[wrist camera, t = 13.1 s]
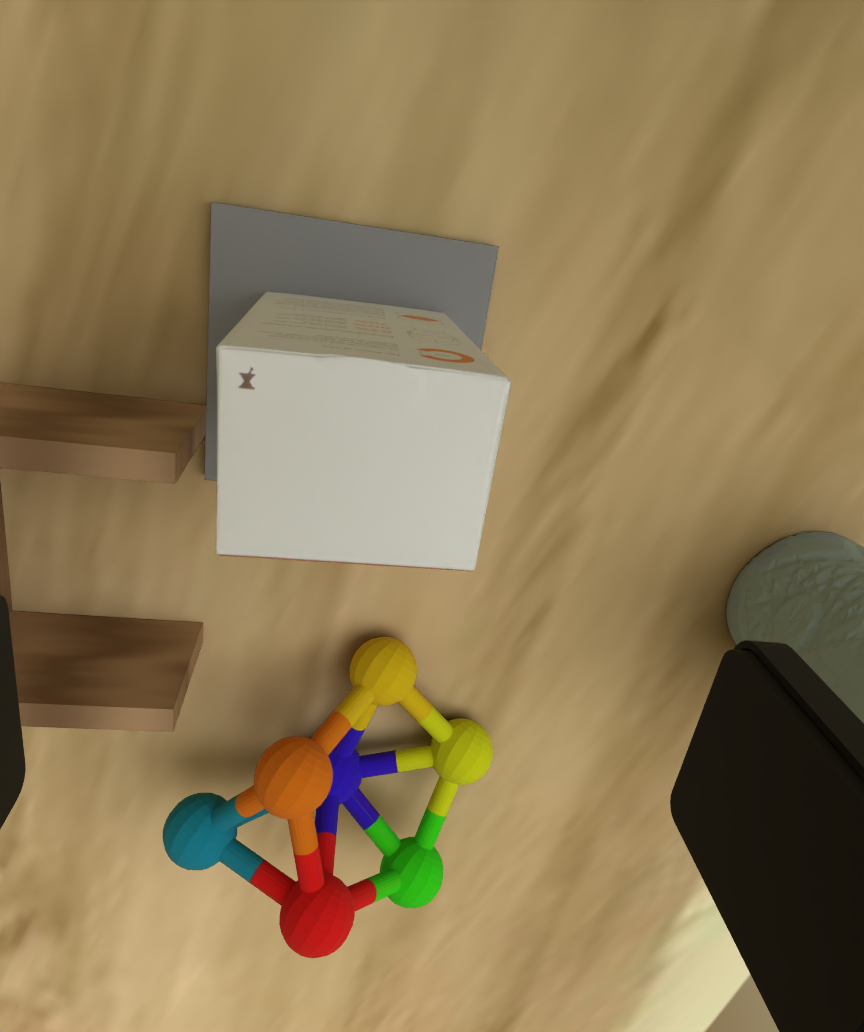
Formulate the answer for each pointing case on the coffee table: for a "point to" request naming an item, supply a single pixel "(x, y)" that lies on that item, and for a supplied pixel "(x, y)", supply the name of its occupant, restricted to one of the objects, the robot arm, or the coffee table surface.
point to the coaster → (335, 275)
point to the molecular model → (323, 786)
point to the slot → (93, 639)
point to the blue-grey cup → (808, 607)
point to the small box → (354, 435)
